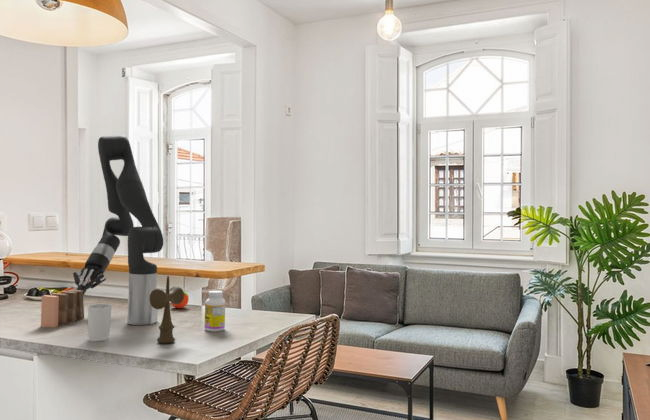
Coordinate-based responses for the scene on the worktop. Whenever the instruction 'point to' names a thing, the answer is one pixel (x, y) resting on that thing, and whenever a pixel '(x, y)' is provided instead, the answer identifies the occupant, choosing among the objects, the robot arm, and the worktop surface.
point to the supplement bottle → (215, 312)
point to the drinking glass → (99, 322)
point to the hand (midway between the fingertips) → (77, 295)
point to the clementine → (182, 301)
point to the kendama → (166, 309)
